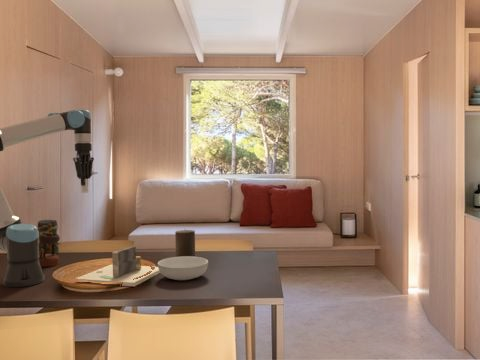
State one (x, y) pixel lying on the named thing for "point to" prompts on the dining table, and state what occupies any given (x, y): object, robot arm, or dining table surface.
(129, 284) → the board
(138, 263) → the peg head
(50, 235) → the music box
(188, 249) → the pillar candle
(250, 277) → the dining table surface
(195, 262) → the serving bowl
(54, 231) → the camouflage backpack
